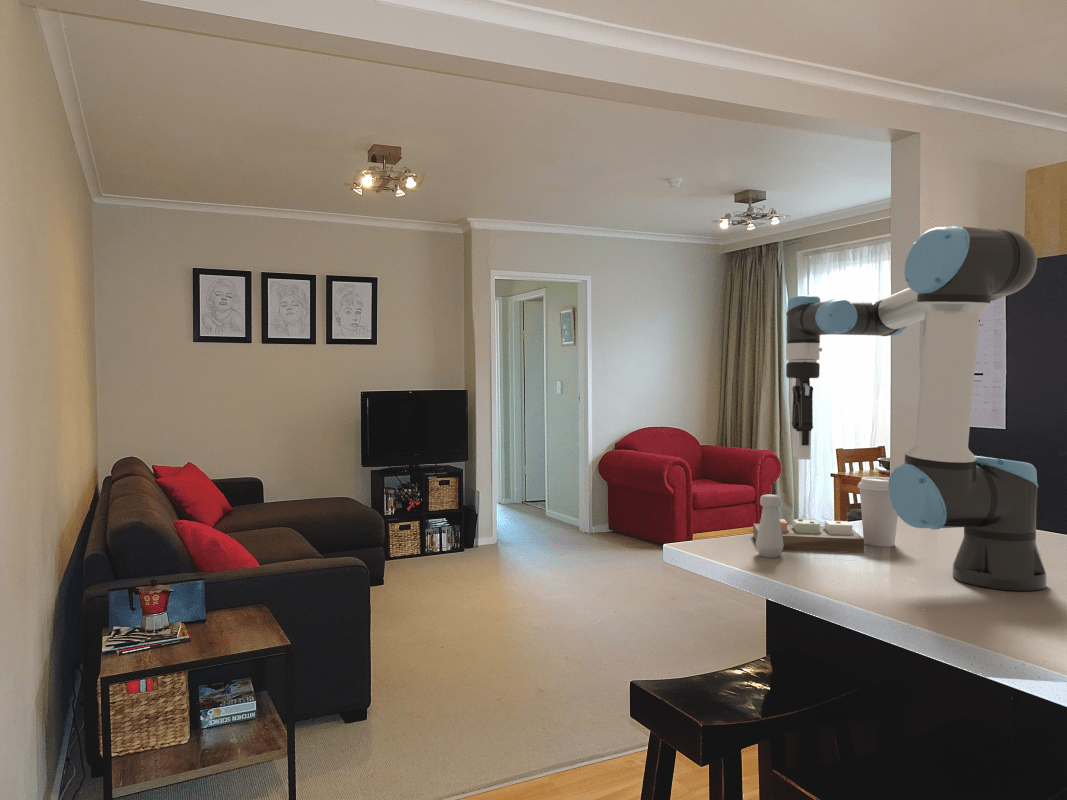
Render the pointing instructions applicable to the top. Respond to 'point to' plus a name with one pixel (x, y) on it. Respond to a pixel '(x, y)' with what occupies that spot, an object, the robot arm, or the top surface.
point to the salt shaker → (770, 528)
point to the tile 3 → (783, 525)
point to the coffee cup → (877, 512)
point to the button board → (819, 540)
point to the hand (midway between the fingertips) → (801, 457)
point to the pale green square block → (806, 526)
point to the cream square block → (838, 528)
